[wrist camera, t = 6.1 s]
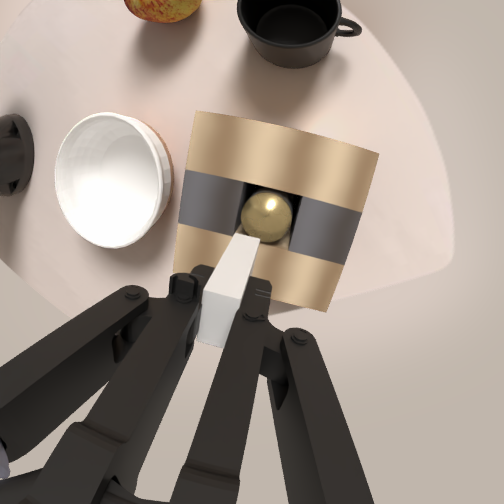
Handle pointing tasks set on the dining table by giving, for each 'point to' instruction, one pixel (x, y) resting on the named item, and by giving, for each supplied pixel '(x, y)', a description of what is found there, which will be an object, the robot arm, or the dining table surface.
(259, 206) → the peg
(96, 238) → the bowl
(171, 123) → the dining table surface
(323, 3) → the mug
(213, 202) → the socket block
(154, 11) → the apple
